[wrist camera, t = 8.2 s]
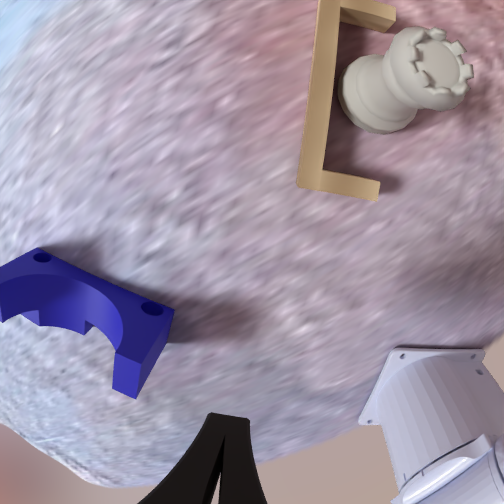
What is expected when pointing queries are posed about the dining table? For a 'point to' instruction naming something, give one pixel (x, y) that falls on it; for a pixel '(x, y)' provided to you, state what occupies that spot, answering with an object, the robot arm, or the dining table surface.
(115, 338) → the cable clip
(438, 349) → the robot arm
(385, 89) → the rook chess piece
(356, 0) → the wooden bracket
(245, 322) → the dining table surface
